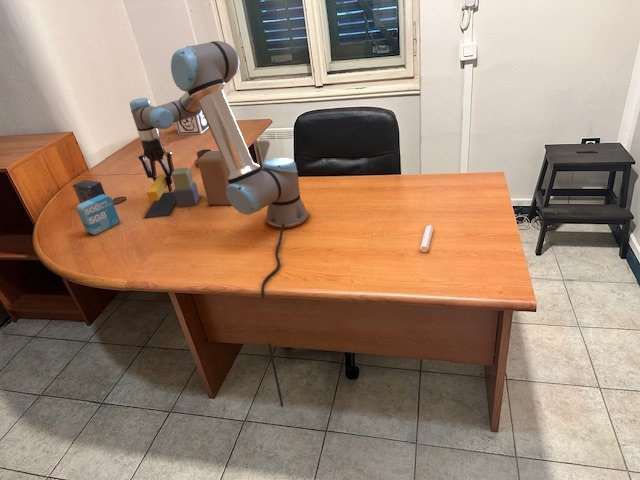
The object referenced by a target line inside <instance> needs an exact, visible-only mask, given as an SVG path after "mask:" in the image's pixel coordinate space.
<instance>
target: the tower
mask: <svg viewBox="0 0 640 480" xmlns="http://www.w3.org/2000/svg"><path fill="white" fill-rule="evenodd" d="M171 175H172V176H171V178H172V183H173V186H174V190H173V192H174V195H175V198H176V205H177V207H178V208H179V207H191V206H197V204H198V202H199V200H200V193H199V189H198V185H197V182H196V181H194V179H193V176H192V172H191V168H190V167H180V168H174V171H173V173H172V174H171Z"/></svg>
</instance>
